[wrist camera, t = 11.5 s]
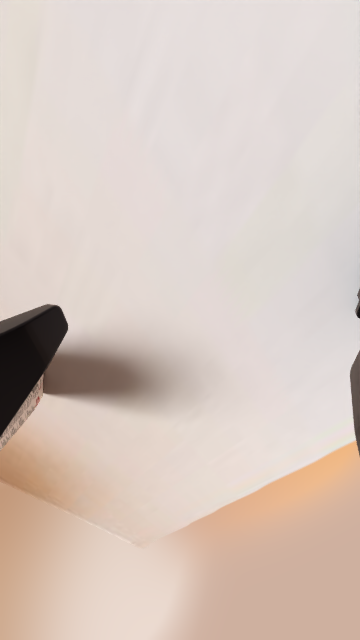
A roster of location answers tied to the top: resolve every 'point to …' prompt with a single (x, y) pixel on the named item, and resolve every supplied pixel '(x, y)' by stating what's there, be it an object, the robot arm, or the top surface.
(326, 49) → the top surface
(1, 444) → the juice carton
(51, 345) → the robot arm
